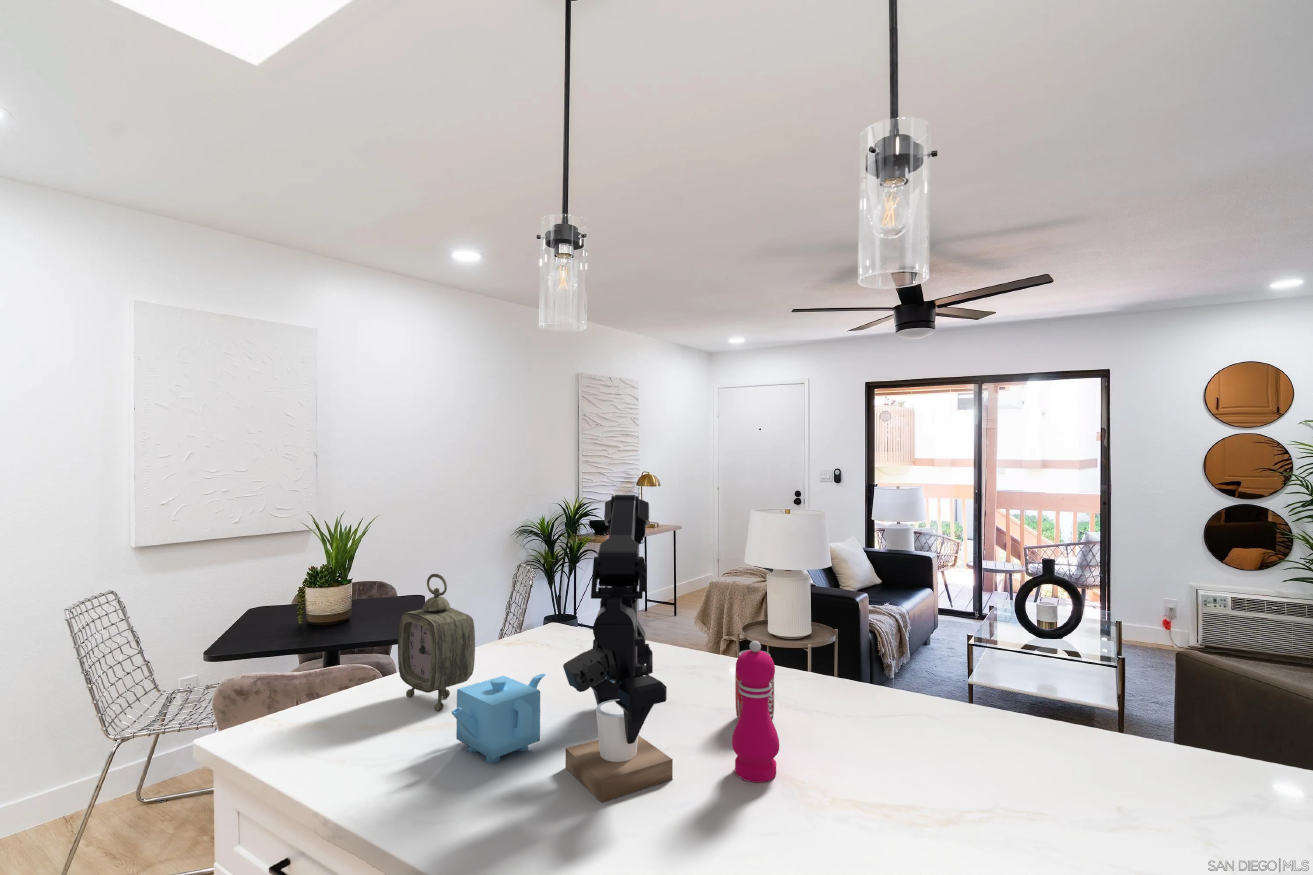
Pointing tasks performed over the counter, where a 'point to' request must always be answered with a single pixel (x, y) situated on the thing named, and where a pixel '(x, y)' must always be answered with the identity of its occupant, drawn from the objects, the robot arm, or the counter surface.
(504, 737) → the teapot
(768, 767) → the pepper mill
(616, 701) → the robot arm
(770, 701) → the soda can
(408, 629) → the tabletop clock
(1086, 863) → the counter surface
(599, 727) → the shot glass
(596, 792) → the walnut base block
